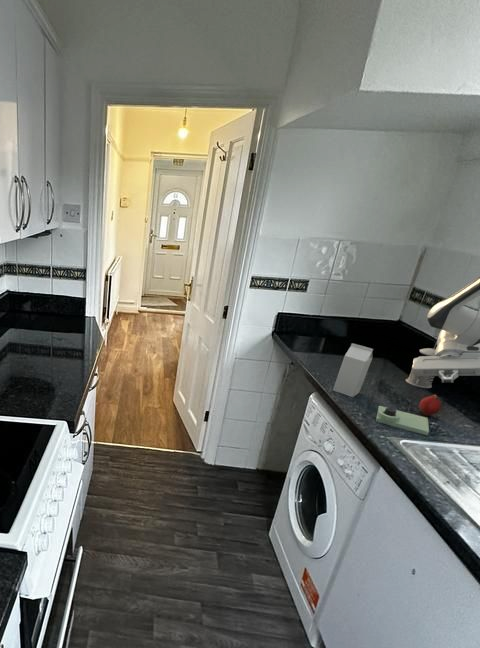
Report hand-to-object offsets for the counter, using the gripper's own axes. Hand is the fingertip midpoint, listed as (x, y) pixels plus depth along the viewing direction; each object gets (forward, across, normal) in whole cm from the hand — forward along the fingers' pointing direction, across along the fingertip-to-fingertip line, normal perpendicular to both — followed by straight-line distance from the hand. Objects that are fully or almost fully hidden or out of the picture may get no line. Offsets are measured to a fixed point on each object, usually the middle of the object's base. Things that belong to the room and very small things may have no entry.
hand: (447, 381), depth 139 cm
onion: (+8, -6, +9) cm, 13 cm away
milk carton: (+6, -30, +2) cm, 30 cm away
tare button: (+20, -13, -3) cm, 24 cm away
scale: (+18, -11, +2) cm, 21 cm away
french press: (-23, -12, +21) cm, 33 cm away
